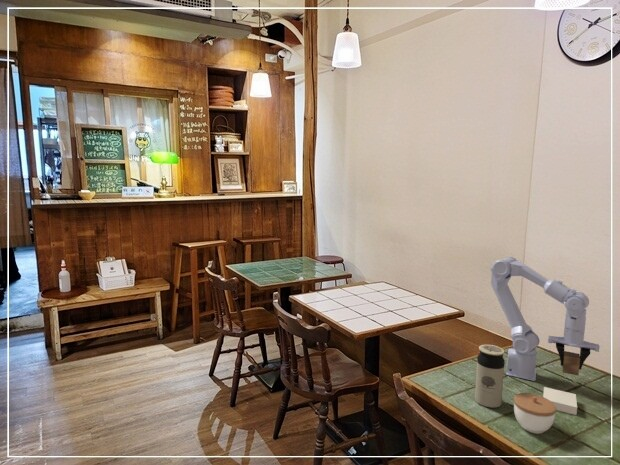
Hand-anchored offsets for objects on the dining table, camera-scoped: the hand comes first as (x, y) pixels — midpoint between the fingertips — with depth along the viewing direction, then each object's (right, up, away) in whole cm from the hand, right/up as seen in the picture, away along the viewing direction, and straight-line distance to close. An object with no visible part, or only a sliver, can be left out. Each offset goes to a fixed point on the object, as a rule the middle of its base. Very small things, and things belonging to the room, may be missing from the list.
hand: (570, 366), depth 139 cm
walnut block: (0, -2, 0) cm, 2 cm away
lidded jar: (-24, -11, -20) cm, 34 cm away
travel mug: (-31, -9, -7) cm, 34 cm away
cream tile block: (-9, -10, -8) cm, 16 cm away
